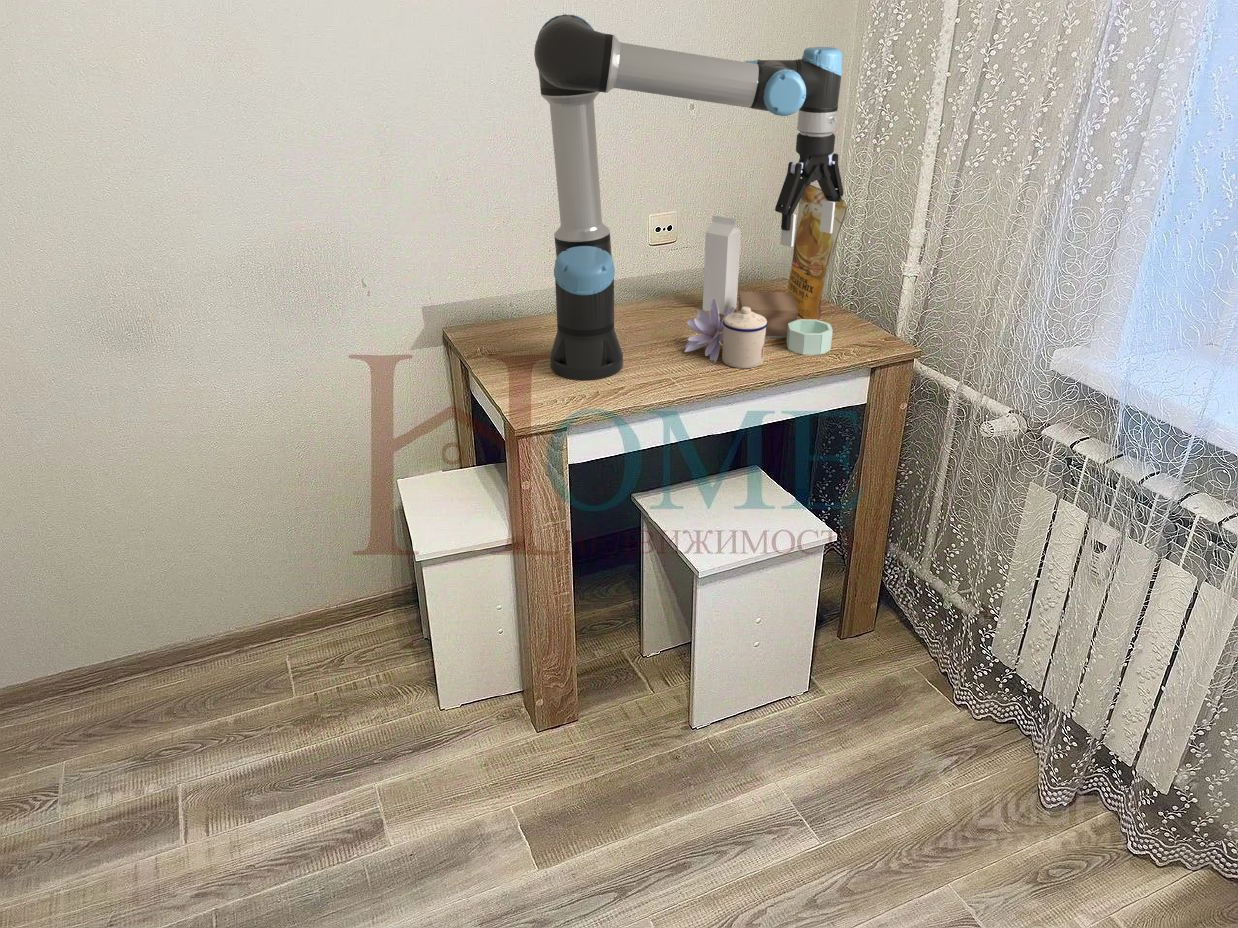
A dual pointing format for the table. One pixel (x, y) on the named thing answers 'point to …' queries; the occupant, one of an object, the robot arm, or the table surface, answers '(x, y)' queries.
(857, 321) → the table surface
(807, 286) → the pancake mix bag
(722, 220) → the milk
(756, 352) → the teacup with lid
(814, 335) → the bowl
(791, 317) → the brown wooden block
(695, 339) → the water lily
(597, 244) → the robot arm
